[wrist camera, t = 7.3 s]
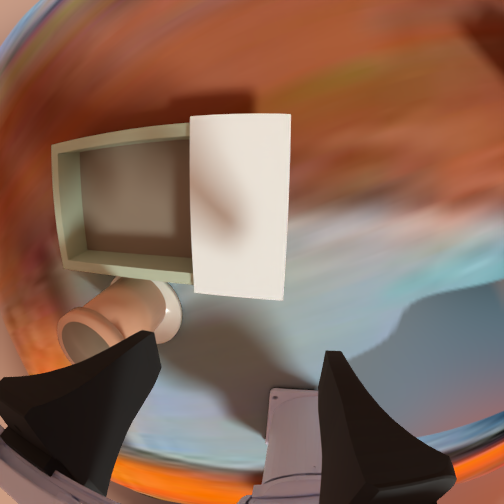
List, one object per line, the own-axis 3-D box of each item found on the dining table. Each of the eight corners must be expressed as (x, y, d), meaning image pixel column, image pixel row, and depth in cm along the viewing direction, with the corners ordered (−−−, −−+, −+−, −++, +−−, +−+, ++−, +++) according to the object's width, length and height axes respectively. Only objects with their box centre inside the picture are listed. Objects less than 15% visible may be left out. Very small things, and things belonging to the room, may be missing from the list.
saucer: (186, 345, 24) (184, 349, 23) (119, 332, 25) (116, 336, 24) (178, 271, 21) (175, 274, 21) (106, 264, 22) (102, 266, 22)
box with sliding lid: (285, 277, 20) (282, 300, 17) (85, 260, 23) (60, 274, 19) (291, 122, 17) (290, 114, 14) (75, 140, 19) (47, 141, 16)
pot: (173, 335, 23) (133, 395, 16) (118, 324, 23) (71, 374, 16) (165, 273, 21) (112, 323, 14) (107, 267, 22) (47, 307, 15)
